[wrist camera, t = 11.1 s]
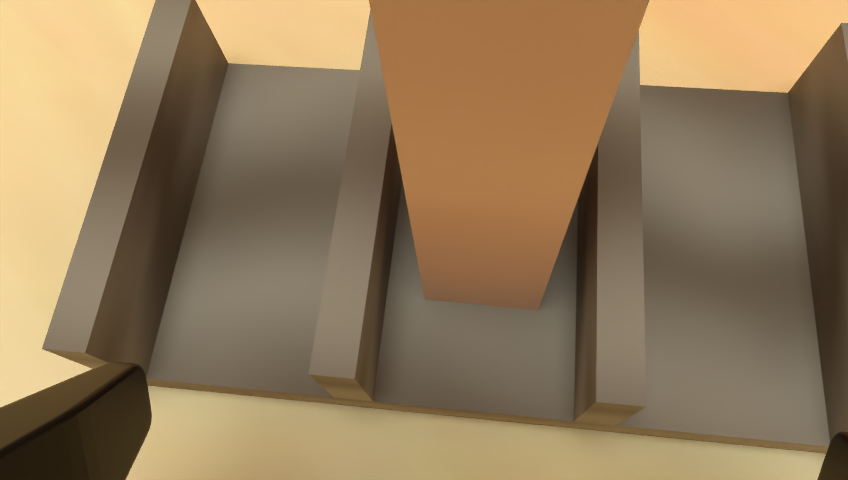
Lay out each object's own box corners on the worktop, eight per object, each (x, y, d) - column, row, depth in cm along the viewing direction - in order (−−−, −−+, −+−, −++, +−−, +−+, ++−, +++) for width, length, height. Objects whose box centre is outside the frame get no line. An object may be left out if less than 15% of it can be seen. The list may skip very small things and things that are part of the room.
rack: (869, 457, 17) (990, 439, 13) (113, 381, 19) (20, 346, 15) (821, 118, 20) (904, 25, 17) (197, 83, 22) (140, -7, 18)
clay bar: (538, 310, 17) (701, -145, 5) (424, 299, 18) (340, -156, 6) (546, 160, 19) (684, -441, 7) (442, 152, 19) (406, -438, 7)
